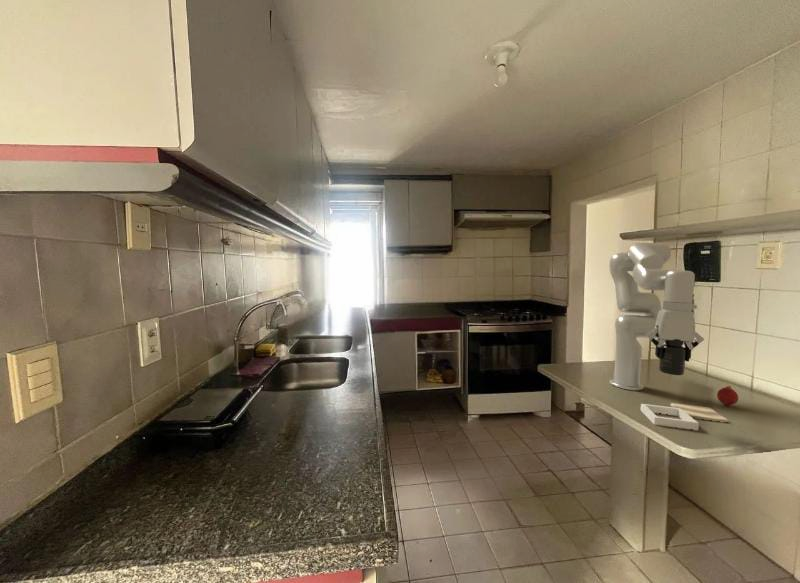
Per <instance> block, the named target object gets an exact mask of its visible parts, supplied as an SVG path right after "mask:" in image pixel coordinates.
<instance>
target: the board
mask: <svg viewBox="0 0 800 583" xmlns="http://www.w3.org/2000/svg"><path fill="white" fill-rule="evenodd" d="M670 407H673V408H680V409H682V410H683V411H684V412H686V413H687V414H688V415H689V416H691V417H692V418H695V419H694V420H701V419H704V420H703V421H709V420H712V421H711V422H716V421H720V422H719V423H724V422H728V423H729V420H728V419H727V418H726V417H724V416H723V415H722V414H720V413H718V412H716V411H715V409H712V408H711V407H707V406H702V405H701V406H700V405H692V404H684V403H675V402H674V403H673V402H670Z"/></svg>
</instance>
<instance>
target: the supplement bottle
mask: <svg viewBox="0 0 800 583" xmlns="http://www.w3.org/2000/svg"><path fill="white" fill-rule="evenodd" d="M662 348H663V359H659V358H658V359H659V361H658V363H659V364H658V371H659V372H661V373H663V374H667V375H671V376H672V375H673V376H683V375H685V367H686V361H685V359H686V349H685V346H684V343H683V342H682V341H680V340H679V339H675V340H671V341H669V340H666V341H665V342H664V344H663V345H662Z"/></svg>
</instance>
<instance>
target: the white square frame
mask: <svg viewBox="0 0 800 583" xmlns="http://www.w3.org/2000/svg"><path fill="white" fill-rule="evenodd" d="M640 412H642V414H643V415H644V416H646V418H647V419H648V420H649V421H650V422H651V423H652V424H653V425H656V426H662V427H671V428H676V427H677V429H683V428H684V429H685V430H690V429H693V430H692V431H699V426H700V424H699V422H698V421H697V419H693V418H692V417H691V416H689V415H688V414H687V413H686V412H684V411H683V410H682V409H680V408H673V407H672V406H663V405H656V404H648V403H640ZM659 413H661V414H660V415H666V414H668V416H675V417H678V418H671V417H664V416H657V415H656V414H659ZM684 429H683V430H684Z"/></svg>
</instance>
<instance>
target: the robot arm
mask: <svg viewBox="0 0 800 583" xmlns="http://www.w3.org/2000/svg"><path fill="white" fill-rule="evenodd" d="M671 250H672V249H671V247H670V246H669V245H668V244H666V243H664V242H636V243H634V244H632V245H631V246H630V247H629V248H628V249H627V252H619V253H614V254H613V255H612V256H611V258H610V259H609V272H610V275H611V278H612V281H613V282H614V287H615V296H616V297H615V298H616V305H617V309H618V311H620V312H621V313H624V314H623V315H619V316H617V318H615V322H614V325H615V326H614V327H615V336H616V337H615V338H616V339H615V342H616V344H615V355H614V356H615V358H614V372H613V378H611V379H609V384H611V385H612V386H613V385H614V386H613V387H616V388H619V389H623V390H627V391H642V390H644V387H645V386H644V384H642V383H641V382H640V381H641V380H640V379H641V367H642V354H643V348H642V344H641V343H640V342H639V341H638V340H637V338H643V339H644V338H647V339H649V340H650V342H651V343H653V345H654V346H655V348H654V350H655V351H654V354H655V357H656V358H657V359H663V348H662V345H664V344H665V341H666V340H669V341H671V340H675V339H679V340H680V341H682V342H683V346H684V348H685V349H686V359H685V362H690V359H691V358H692V351H693V350H694V348H696V347H698V345H699V344H701V343H702V342H703V341H704V340H705V339H704V337H702V335H700V334H699V333H698V332H697V331H696V319H695V313H694V312H693V309H698V306H697V304H694V303H693V301H694V300H693V297H694V290H695V289H694V287H695V276H696V275H695V273H694V272H693V271H691V270H681V269H665V268H663V267H664V265H665V264H666V263H667V262H668V261H669V260H670V258H671V256H672V251H671ZM629 272H632V274H630V273H629ZM638 287H640V288H641V289H643V290H646V291H663V300H662V304H661V300H660V298H659V296H658V295H657V294H656V293H653V292H641V291H640V290H639V288H638ZM625 313H627V314H625ZM638 314H642V315H638Z"/></svg>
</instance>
